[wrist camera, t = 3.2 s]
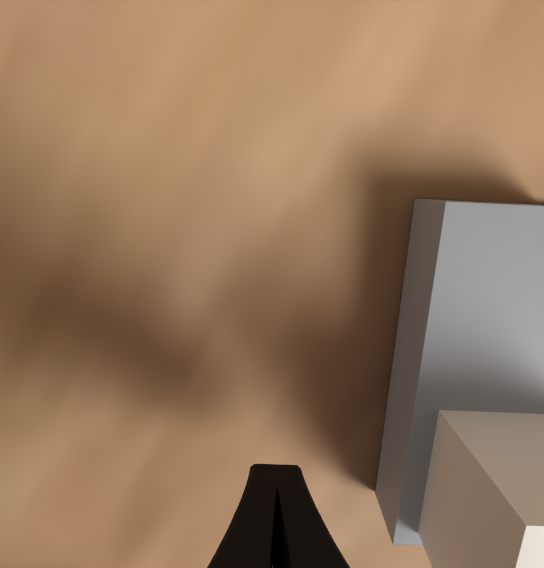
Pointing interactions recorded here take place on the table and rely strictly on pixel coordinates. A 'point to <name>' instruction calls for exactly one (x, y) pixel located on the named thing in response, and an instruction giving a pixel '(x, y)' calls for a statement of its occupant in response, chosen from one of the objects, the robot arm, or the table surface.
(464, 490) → the block
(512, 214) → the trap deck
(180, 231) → the table surface
